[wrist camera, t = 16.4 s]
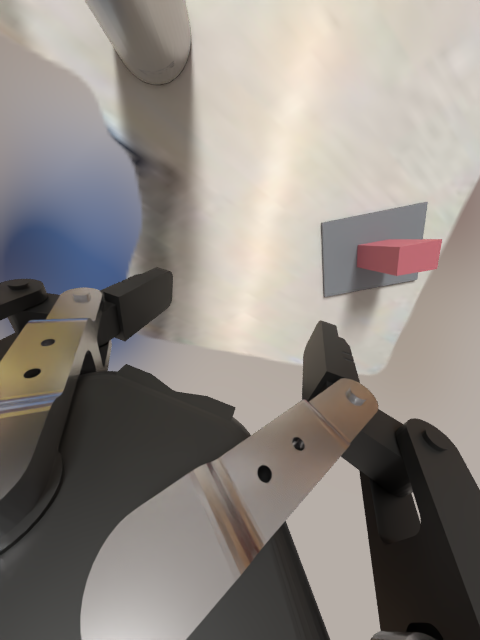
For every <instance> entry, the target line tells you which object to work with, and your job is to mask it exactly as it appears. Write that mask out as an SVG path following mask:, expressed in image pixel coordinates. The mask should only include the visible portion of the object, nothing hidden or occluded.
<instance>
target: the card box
mask: <svg viewBox="0 0 480 640" xmlns="http://www.w3.org/2000/svg"><path fill="white" fill-rule="evenodd" d="M441 243H442V239H388V240H383V241H377V242H372V243H366V244H361V245H358V247H357V267H359V268H363V269H368V270H372V271H377V272H381V273H386V274H390V275H395V276H399V275H405V274H411V273H416V272H422V271H427V270H433V269H437V265H438V260H439V254H440V248H441Z"/></svg>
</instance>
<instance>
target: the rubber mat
mask: <svg viewBox="0 0 480 640" xmlns="http://www.w3.org/2000/svg"><path fill="white" fill-rule="evenodd" d="M427 203H428V202H424V203H419V204H414V205H409V206H404V207H399V208H394V209H389V210H384V211H379V212H374V213H369V214H364V215H359V216H354V217H349V218H344V219H339V220H334V221H329V222H324V223H321V227H322V256H323V284H324V297H327V296H332V295H338V294H343V293H348V292H354V291H359V290H364V289H370V288H375V287H380V286H386V285H391V284H397V283H402V282H407V281H413V280H417V277H418V272H416V273H411V274H405V275H399V276H395V275H390V274H386V273H381V272H377V271H372V270H368V269H363V268H359V267H357V247H358V245H361V244H366V243H372V242H377V241H383V240H388V239H423V233H424V225H425V218H426V210H427Z"/></svg>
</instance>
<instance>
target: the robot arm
mask: <svg viewBox="0 0 480 640" xmlns="http://www.w3.org/2000/svg"><path fill="white" fill-rule="evenodd" d="M85 2H86V3H87V5H88V7H89V8H90V10H91V11H92V13H93V15H94V16H95V18H96V19H97V21H98V23H99V24H100V26H101V28H102V29H103V31H104V33H105V34H106V36H107V37H108V39H109V40H110V42H111V44H112V45H113V47H114V48H115V50H116V52H117V53H118V55H119V56H120V58H121V60H122V61H123V63H124V64H125V66H126V67H127V68H128V69H129V70H130V71H131V73H132V74H134V75H135V76H136V77H138V78H139V79H140V80H142V81H144V82H147V83H150V84H155V85H158V84H165V83H168V82H170V81H172V80H173V79H174V78H176V77H177V76H178V75H179V74H180V72H181V71H182V70H183V68H184V66H185V64H186V62H187V59H188V56H189V52H190V44H191V29H190V22H189V17H188V12H187V7H186V2H185V0H85ZM172 284H173V276H172V273H171V272H170V271H167V270H164V269H161V268H158V267H157V268H154V269H152V270H150V271H147V272H145V273H143V274H138V275H134V276H132V277H130V278H128V279H125V280H123V281H122V282H118V283H117V284H114V285H112V286H109V287H107V288H105V289H103V290H101V291H99V290H96V289H93V288H75V289H71V290H68V291H65V292H63V293H62V294H61V295H56V294H48V293H46V290H45V287H44V285H43V283H42V282H41V281H38V280H34V279H15V280H9V281H5V282H1V283H0V320H2V319H4V318H7V317H8V319H9V321H10V323H11V325H12V327H13V329H14V331H15V333H14V334H12V335H10V336H8V337H6V338H4V339H2V340H0V640H330V638H329V635H328V633H327V630H326V627H325V625H324V622H323V620H322V617H321V614H320V611H319V609H318V606H317V603H316V601H315V598H314V595H313V593H312V590H311V587H310V585H309V582H308V579H307V577H306V574H305V571H304V569H303V566H302V564H301V561H300V558H299V555H298V553H297V550H296V547H295V545H294V542H293V539H292V537H291V534H290V531H289V529H288V526H287V523H286V519H287V518H288V517H289V516H290V515H291V514H292V512H293V511H294V510H295V509H296V508H297V507H298V505H299V504H300V503H301V502H302V501H303V500H304V498H305V497H306V496H307V495H308V494H309V492H310V491H311V490H312V489H313V488H314V487H315V486H316V484H317V483H318V482H319V481H320V480H321V479H322V477H323V476H324V475H325V474H326V473H327V472H328V470H329V469H330V468H331V467H332V466H333V465H334V463H335V462H336V461H337V460H338V459H339V457H340V456H341V457H343V458H344V459H345V460H347V461H348V462H349V463H351V464H352V465H353V466H354V467H356V468H357V469H359V471H360V479H361V486H362V494H363V501H364V509H365V516H366V524H367V531H368V539H369V546H370V554H371V561H372V568H373V576H374V583H375V591H376V599H377V606H378V613H379V621H380V629H381V631H380V632H378V633H376V634H374V636H373V637H372V638H371V640H480V490H479V488H478V486H477V484H476V482H475V480H474V479H473V477H472V475H471V473H470V471H469V469H468V468H467V466H466V464H465V462H464V460H463V458H462V456H461V455H460V453H459V451H458V449H457V448H456V447H455V445H454V444H453V443H452V442H451V441H450V439H449V438H448V437H447V436H446V435H445V434H443V433H442V432H441V431H440V430H438V429H437V428H436V427H434V426H432V425H431V424H429V423H427V422H425V421H423V420H420V419H410V420H408V421H407V422H406V423H405V424H402V423H400V422H398V421H397V420H395V419H394V418H392V417H390V416H389V415H387V414H385V413H384V412H382V411H381V410H379V409H378V402H377V400H376V398H375V397H374V395H373V394H372V393H371V392H370V391H369V390H368V389H367V388H366V387H365V386H363V385H362V384H360V382H359V378H358V374H357V371H356V367H355V363H354V362H353V361H354V360H353V356H352V353H351V349H350V346H349V345H348V344H347V342H346V341H345V340H344V339H343V338H340V337H338V332H337V327H336V325H333V324H330V323H327V322H324V321H319V322H318V324H317V325H316V327H315V329H314V331H313V333H312V335H311V337H310V339H309V341H308V343H307V345H306V348H305V351H304V356H303V388H302V401H300V402H299V403H297V404H296V405H294V406H293V407H291V408H290V409H289V410H287V411H286V412H284V413H283V414H281V415H280V416H278V417H277V418H276V419H274V420H273V421H271V422H270V423H268V424H267V425H265V426H264V427H263V428H261V429H260V430H258V431H257V432H256V433H254V434H253V435H250V433H249V432H248V431H247V430H246V429H245V427H244V426H243V425H242V424H241V423H239V422H238V421H237V420H236V419H235V418H233V414H234V410H235V407H233V406H230V405H228V404H225V403H223V402H220V401H218V400H215V399H213V398H210V397H208V396H202V395H195V394H188V393H182V392H176V391H173V390H172V389H170V388H169V387H168V386H167V385H165V384H164V383H162V382H161V381H160V380H158V379H157V378H156V377H155V376H153V375H152V374H150V373H147V372H145V371H142V370H140V369H137V368H134V367H132V366H130V365H127V364H126V365H125V366H123V367H122V368H121V369H120V370H119V371H118V372H115V371H114V372H113V371H108V364H109V358H110V352H111V345H112V344H111V339H112V338H114V337H115V338H118V339H120V340H123V341H126V340H127V339H129V338H130V337H131V336H132V335H134V334H135V333H136V332H138V331H139V330H140V329H141V328H143V327H144V326H145V325H147V324H148V323H149V322H150V321H152V320H153V319H154V318H156V317H157V316H158V315H159V314H161V313H162V312H163V311H165V310H166V309H167V308H168V307H169V306H170V304H171V301H172ZM412 492H413V493H414V496H415V499H416V502H417V506H418V509H419V513H420V517H421V524H420V521H419V517H418V514H417V511H416V508H415V504H414V501H413V497H412V494H411V493H412Z"/></svg>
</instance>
